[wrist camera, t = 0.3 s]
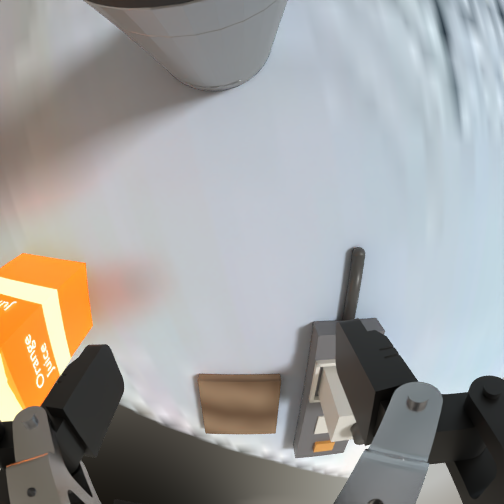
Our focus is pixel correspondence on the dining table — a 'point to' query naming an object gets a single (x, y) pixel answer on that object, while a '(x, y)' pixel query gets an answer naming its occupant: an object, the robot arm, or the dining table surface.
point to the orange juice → (38, 327)
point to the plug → (337, 408)
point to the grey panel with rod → (322, 355)
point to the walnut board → (239, 403)
